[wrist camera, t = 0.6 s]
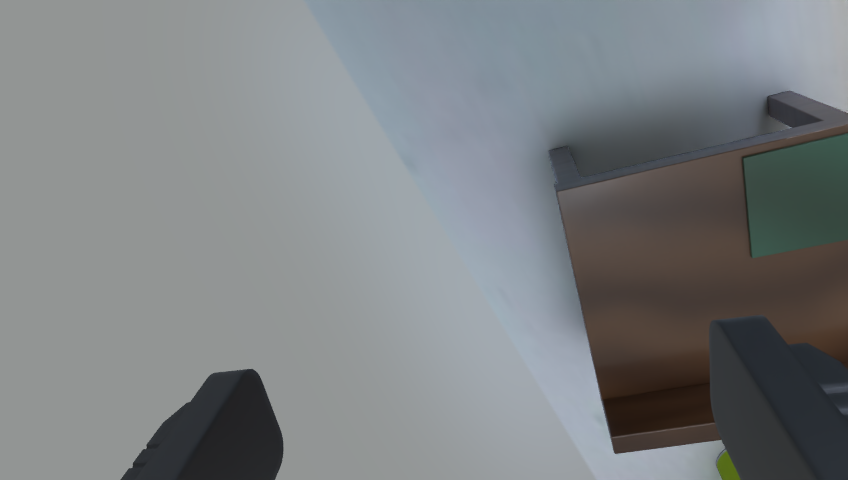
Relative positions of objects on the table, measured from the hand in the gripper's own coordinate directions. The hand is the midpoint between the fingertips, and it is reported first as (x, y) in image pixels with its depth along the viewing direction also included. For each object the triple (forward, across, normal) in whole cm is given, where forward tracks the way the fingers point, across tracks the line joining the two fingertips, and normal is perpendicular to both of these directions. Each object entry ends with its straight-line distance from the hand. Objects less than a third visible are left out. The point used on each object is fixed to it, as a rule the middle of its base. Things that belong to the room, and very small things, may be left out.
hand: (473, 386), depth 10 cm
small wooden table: (+27, -10, +10) cm, 31 cm away
